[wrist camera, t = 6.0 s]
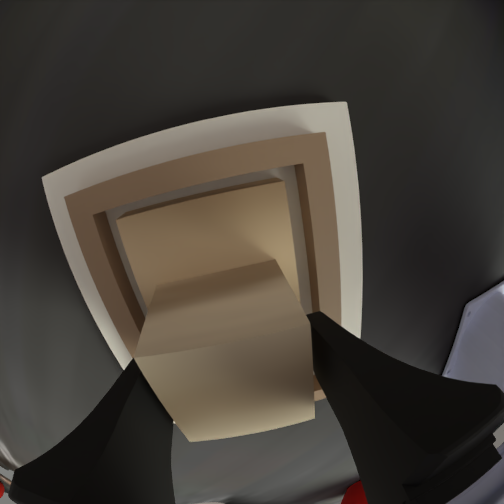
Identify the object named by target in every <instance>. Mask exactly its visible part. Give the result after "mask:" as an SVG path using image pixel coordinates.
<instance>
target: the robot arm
mask: <svg viewBox="0 0 504 504" xmlns="http://www.w3.org/2000/svg"><path fill="white" fill-rule="evenodd" d="M306 316H307V318H308V320H309V322H310V326H311V340H312V357H313V371H314V374H315V376H316V378H317V380H318V382H319V384H320V386H321V388H322V390H323V392H324V394H325V396H326V398H327V400H328V402H329V404H330V405H331V407H332V409H333V411H334V413H335V415H336V417H337V419H338V421H339V423H340V425H341V427H342V429H343V432H344V434H345V437H346V439H347V442H348V445H349V447H350V450H351V453H352V456H353V459H354V461H355V464H356V467H357V470H358V473H359V476H360V479H361V482H362V486H363V489H364V492H365V496H366V499H367V503H368V504H504V442H503V443H502V444H501V445H500V446H499V447H498V448H497V449H496V448H495V447H494V445H493V443H494V442H495V441H496V438H495V437H494V435H493V434H492V432H493V431H494V430H495V429H496V427H497V426H498V425H499V424H500V423H501V421H502V420H503V419H504V281H503V282H501V283H499V284H498V285H496V286H495V287H493V288H492V289H490V290H488V291H487V292H485V293H484V294H482V295H480V296H479V297H477V298H475V299H473V300H472V301H470V302H468V303H467V304H466V306H465V308H464V311H463V315H462V319H461V322H460V326H459V329H458V332H457V335H456V338H455V341H454V344H453V347H452V350H451V353H450V356H449V358H448V361H447V364H446V366H445V369H444V371H443V374H442V376H440V375H437V374H434V373H430V372H427V371H424V370H421V369H418V368H416V367H413V366H410V365H408V364H406V363H404V362H401V361H399V360H397V359H395V358H392V357H390V356H388V355H386V354H385V353H383V352H381V351H379V350H377V349H376V348H374V347H372V346H370V345H369V344H367V343H366V342H364V341H362V340H361V339H359V338H358V337H356V336H355V335H353V334H352V333H350V332H349V331H347V330H346V329H345V328H343V327H342V326H340V325H339V324H338V323H336V322H335V321H334V320H332V319H331V318H330V317H328V316H327V315H326V314H324V313H323V312H321V311H318V312H314V313H310V314H307V315H306ZM173 421H174V420H173V419H172V417H171V416H170V414H169V413H168V412H167V410H166V409H165V407H164V406H163V404H162V403H161V401H160V400H159V398H158V397H157V395H156V394H155V392H154V391H153V389H152V388H151V386H150V384H149V383H148V381H147V380H146V378H145V376H144V375H143V373H142V371H141V370H140V368H139V366H138V365H137V363H136V361H135V359H134V357H133V359H132V360H131V361H130V363H129V364H128V365H127V367H126V368H125V370H124V371H123V372H122V374H121V375H120V376H119V378H118V379H117V380H116V382H115V383H114V385H113V386H112V387H111V389H110V390H109V391H108V392H107V394H106V395H105V396H104V397H103V399H102V400H101V401H100V402H99V404H98V405H97V406H96V407H95V408H94V410H93V411H92V412H91V413H90V414H89V415H88V416H87V417H86V418H85V419H84V420H83V421H82V423H81V424H80V425H79V426H78V427H77V428H75V429H74V430H73V431H72V432H71V433H70V434H69V435H68V436H66V437H65V438H64V439H63V440H62V441H61V442H59V443H58V444H57V445H56V446H54V447H53V448H52V449H50V450H49V451H47V452H46V453H44V454H43V455H41V456H40V457H38V458H37V459H35V460H33V461H31V462H29V463H28V464H26V465H24V466H22V467H20V468H18V469H16V470H15V472H14V475H13V479H12V483H11V486H10V490H9V494H8V496H9V498H10V499H11V500H12V501H14V502H15V503H17V504H175V498H174V491H173V483H172V472H171V446H172V433H173Z"/></svg>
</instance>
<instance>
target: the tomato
mask: <svg viewBox="0 0 504 504" xmlns="http://www.w3.org/2000/svg"><path fill="white" fill-rule="evenodd" d="M3 493H4V486H3V484H2V483H1V482H0V498H1V497H2V496H3Z"/></svg>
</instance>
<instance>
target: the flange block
mask: <svg viewBox="0 0 504 504" xmlns="http://www.w3.org/2000/svg"><path fill="white" fill-rule="evenodd" d="M116 223H117V226H118V230H119V233H120V236H121V239H122V242H123V245H124V248H125V251H126V254H127V257H128V260H129V263H130V265H131V268H132V271H133V274H134V276H135V279H136V282H137V284H138V287H139V289H140V292H141V295H142V297H143V300H144V302H145V304H146V307H147V309H148V313H147V316H146V319H145V322H144V325H143V328H142V331H141V334H140V338H139V341H138V344H137V348H136V351H135V355H134V359H135V361H136V363H137V365H138V366H139V368H140V370H141V371H142V373H143V375H144V376H145V378H146V380H147V381H148V383H149V384H150V386H151V388H152V389H153V391H154V392H155V394H156V395H157V397H158V398H159V400H160V401H161V403H162V404H163V406H164V407H165V409H166V410H167V412H168V413H169V414H170V416H171V417H172V419H173V420H174V421H175V423H176V424H177V426H178V427H179V428H180V430H181V431H182V432H183V433H184V435H185V436H186V437H187V439H188V440H189V441H190V442H195V441H205V440H214V439H222V438H229V437H235V436H241V435H247V434H252V433H258V432H263V431H267V430H272V429H276V428H281V427H285V426H289V425H293V424H296V423H300V422H304V421H307V420H311V419H314V418H315V407H314V378H313V357H312V340H311V326H310V322H309V320H308V318H307V316H306V314H305V312H304V311H303V309H302V307H301V304H300V294H299V285H298V276H297V267H296V259H295V251H294V243H293V235H292V228H291V221H290V213H289V206H288V200H287V193H286V186H285V181H283V180H281V179H279V178H277V177H276V178H271V179H265V180H260V181H254V182H249V183H244V184H239V185H234V186H229V187H225V188H220V189H215V190H211V191H206V192H202V193H198V194H193V195H189V196H185V197H181V198H177V199H173V200H169V201H165V202H161V203H157V204H153V205H149V206H146V207H142V208H138V209H135V210H131V211H128V212H125V213H124V214H122V215H121V216H120V217H119V218H118V219H116Z"/></svg>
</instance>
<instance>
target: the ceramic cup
mask: <svg viewBox="0 0 504 504" xmlns="http://www.w3.org/2000/svg"><path fill="white" fill-rule="evenodd" d="M341 504H368V503H367V499H366V496H365V492H364V489H363V486H362V482H361V480H360V481H358V482H356V483H355V484H353V485H351V486H350V487H349V488H347V492H346V493H345V495H344V497H343V499H342V502H341Z"/></svg>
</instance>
